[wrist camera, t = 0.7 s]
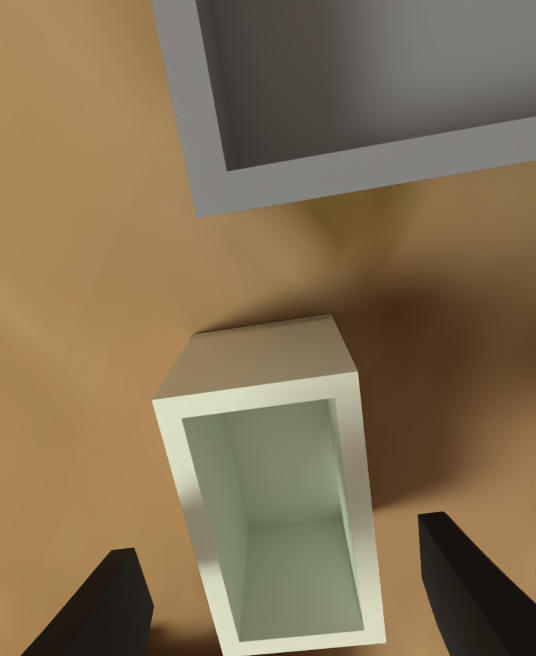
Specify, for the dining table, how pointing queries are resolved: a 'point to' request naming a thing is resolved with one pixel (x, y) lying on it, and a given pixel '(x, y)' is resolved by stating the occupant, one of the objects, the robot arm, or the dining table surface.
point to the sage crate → (275, 485)
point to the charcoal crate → (344, 93)
